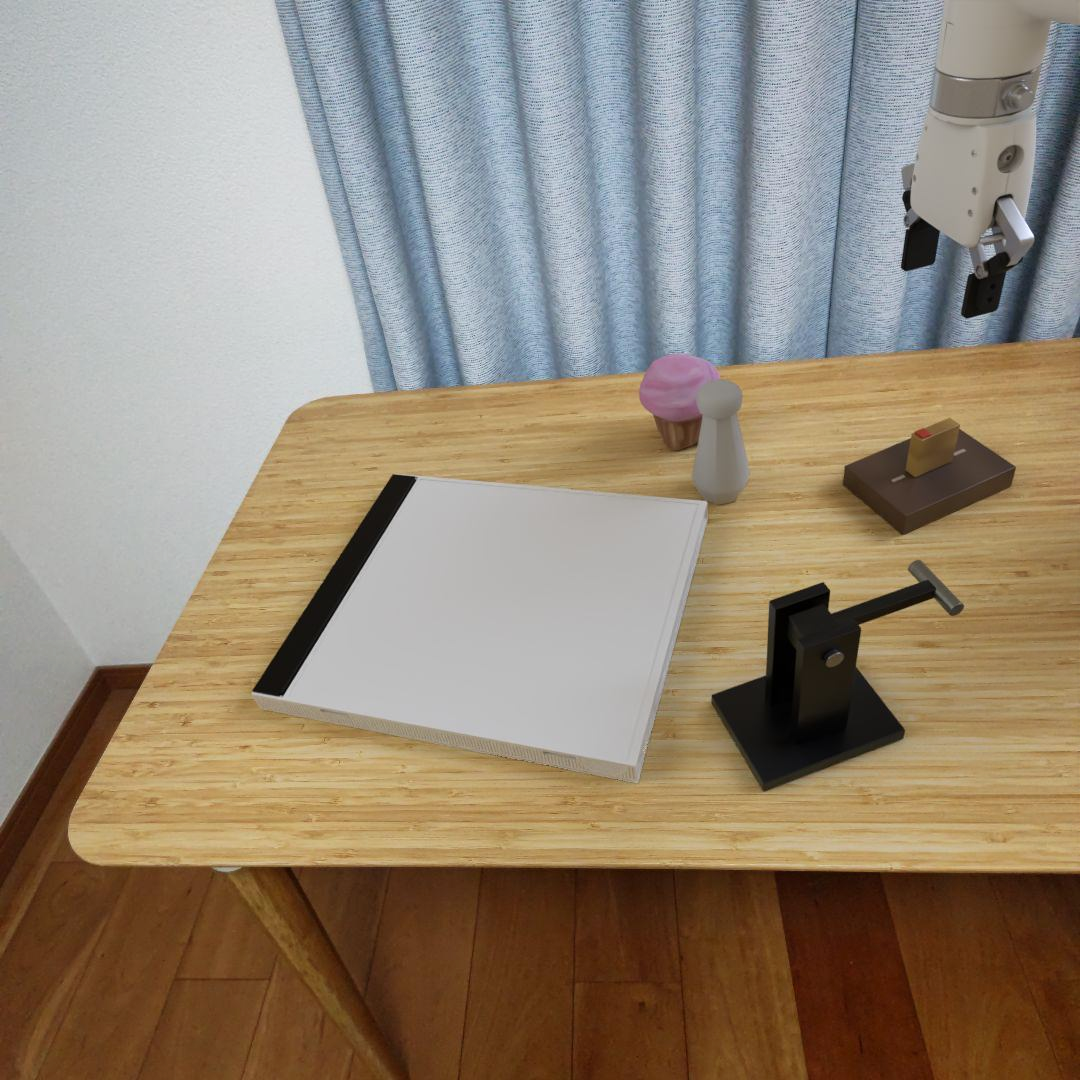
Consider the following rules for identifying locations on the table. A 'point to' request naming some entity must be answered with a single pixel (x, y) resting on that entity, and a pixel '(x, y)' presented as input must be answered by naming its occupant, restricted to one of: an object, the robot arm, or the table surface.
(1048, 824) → the table surface
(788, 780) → the handle bracket
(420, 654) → the cd case
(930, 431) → the thumb turn
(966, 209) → the robot arm
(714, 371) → the cupcake
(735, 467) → the salt shaker
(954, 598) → the door handle
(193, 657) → the table surface
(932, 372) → the table surface
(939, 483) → the plate
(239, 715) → the table surface
